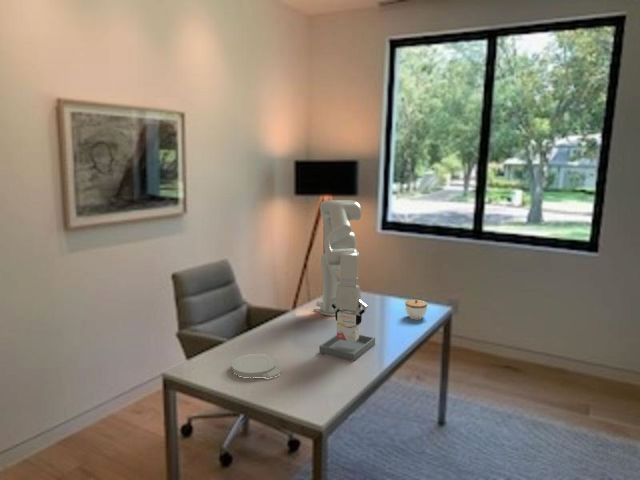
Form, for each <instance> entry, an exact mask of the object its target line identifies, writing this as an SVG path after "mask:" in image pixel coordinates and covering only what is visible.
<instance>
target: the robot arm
mask: <svg viewBox="0 0 640 480" xmlns="http://www.w3.org/2000/svg"><path fill="white" fill-rule="evenodd" d="M319 207H320V208H319V209H320V214H321V217H322V220H323V223H324V229H323V230H324V231H323V232H324V234H323V236H324V237H323V242H324V243H323V245H324V246H323V247H324V253H323V254H322V255H321V257H320V264H321V265H320V266H321V272H322V273H321V274H322V276H321V277H322V283H321V284H322V289H321V290H322V291H321V292H322V299H321V300H322V301H316V305H315V306H316V307H319V310H318V312H319V313H320V314H321V315H324V316H327V317H329V316H330V317H332V316H333V317H334V318H335V321H336V322H337V312H339V311H340V310H341V309H344V310H349V311H355V312H356V314H357V316H356V325H359V326H360V324H361V323H362V321H363V320H362V318H363V317H362V316H363V314H364V313H365V312H366V311H367V309H368V308H369V306H368V305H367V304H366V303H365V302H363V301H362V296H361V293H362V292H361V288H360V285H359V261H360V253H359V251H358V250H357V238H356V234H355V233H354V232H353V231H352V225H351V221H358V220H360V219H361V217H362V207H361V205H360V203H359V202H358V201H356V200H352V199H351V200H350V199H343V200H342V199H329V200H323V201H322V202H320V206H319ZM337 272H339V274H338V273H337ZM361 307H362V308H361Z"/></svg>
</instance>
